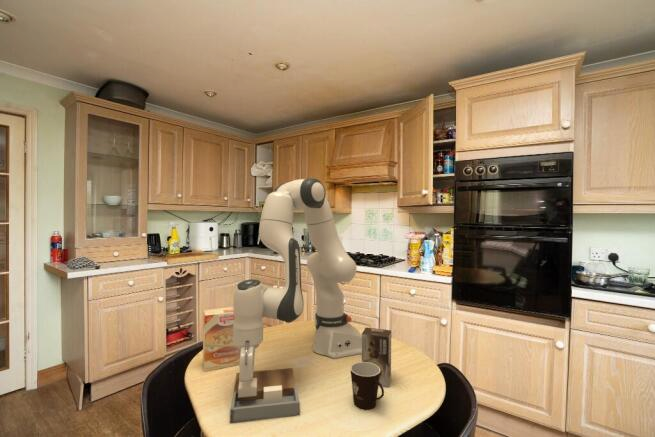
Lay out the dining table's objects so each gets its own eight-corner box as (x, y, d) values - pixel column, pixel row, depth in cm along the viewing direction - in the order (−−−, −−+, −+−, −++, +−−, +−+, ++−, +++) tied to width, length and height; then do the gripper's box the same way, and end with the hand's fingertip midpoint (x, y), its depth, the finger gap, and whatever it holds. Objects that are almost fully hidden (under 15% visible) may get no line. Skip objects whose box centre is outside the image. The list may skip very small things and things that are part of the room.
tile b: (256, 385, 94) (256, 377, 94) (256, 395, 89) (256, 387, 89) (239, 387, 93) (239, 379, 93) (238, 397, 88) (238, 388, 88)
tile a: (281, 385, 90) (282, 390, 87) (281, 402, 90) (281, 408, 87) (263, 387, 88) (263, 391, 86) (263, 404, 89) (263, 410, 86)
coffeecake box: (203, 371, 108) (204, 315, 108) (202, 363, 114) (202, 309, 114) (248, 363, 114) (248, 310, 114) (244, 355, 121) (244, 304, 120)
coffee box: (391, 378, 105) (392, 330, 105) (388, 387, 99) (389, 337, 99) (364, 373, 108) (365, 326, 108) (360, 382, 102) (361, 333, 102)
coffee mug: (347, 395, 95) (348, 362, 95) (375, 394, 96) (376, 361, 95) (354, 420, 83) (354, 382, 83) (386, 418, 84) (386, 381, 84)
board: (292, 376, 105) (292, 367, 105) (296, 397, 93) (296, 387, 93) (236, 382, 101) (236, 372, 101) (233, 403, 90) (233, 393, 90)
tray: (296, 397, 93) (296, 385, 93) (299, 415, 85) (299, 402, 85) (233, 403, 90) (233, 391, 90) (230, 423, 81) (230, 409, 81)
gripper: (258, 348, 85) (257, 399, 85) (259, 323, 105) (258, 364, 105) (234, 350, 84) (233, 402, 84) (239, 324, 104) (239, 366, 104)
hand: (247, 381), depth 95 cm, fingers closed
